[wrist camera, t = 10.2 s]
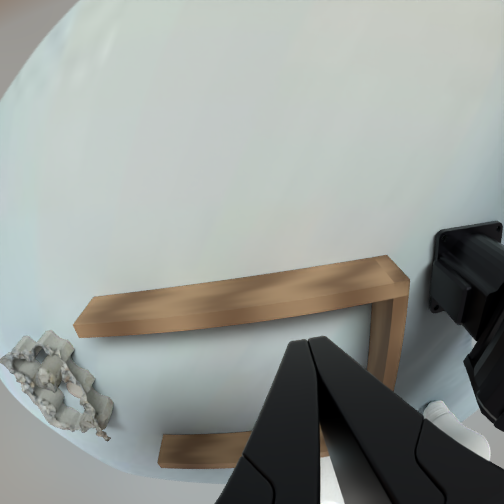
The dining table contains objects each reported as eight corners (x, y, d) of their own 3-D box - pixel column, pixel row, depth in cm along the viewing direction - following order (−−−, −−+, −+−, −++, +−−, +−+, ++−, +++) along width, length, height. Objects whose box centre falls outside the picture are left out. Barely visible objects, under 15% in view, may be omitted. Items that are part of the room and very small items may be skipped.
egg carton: (125, 412, 26) (114, 445, 22) (69, 411, 26) (56, 440, 22) (67, 324, 21) (44, 356, 18) (13, 332, 22) (-9, 359, 18)
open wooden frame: (386, 254, 19) (410, 279, 16) (370, 416, 26) (380, 444, 23) (93, 296, 20) (72, 325, 17) (166, 439, 27) (161, 467, 23)
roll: (366, 539, 16) (352, 551, 18) (342, 440, 27) (334, 464, 29) (295, 552, 16) (291, 561, 18) (284, 448, 27) (283, 471, 29)
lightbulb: (424, 425, 27) (457, 501, 17) (393, 417, 26) (427, 505, 16) (464, 389, 26) (508, 463, 15) (437, 376, 24) (487, 464, 14)
